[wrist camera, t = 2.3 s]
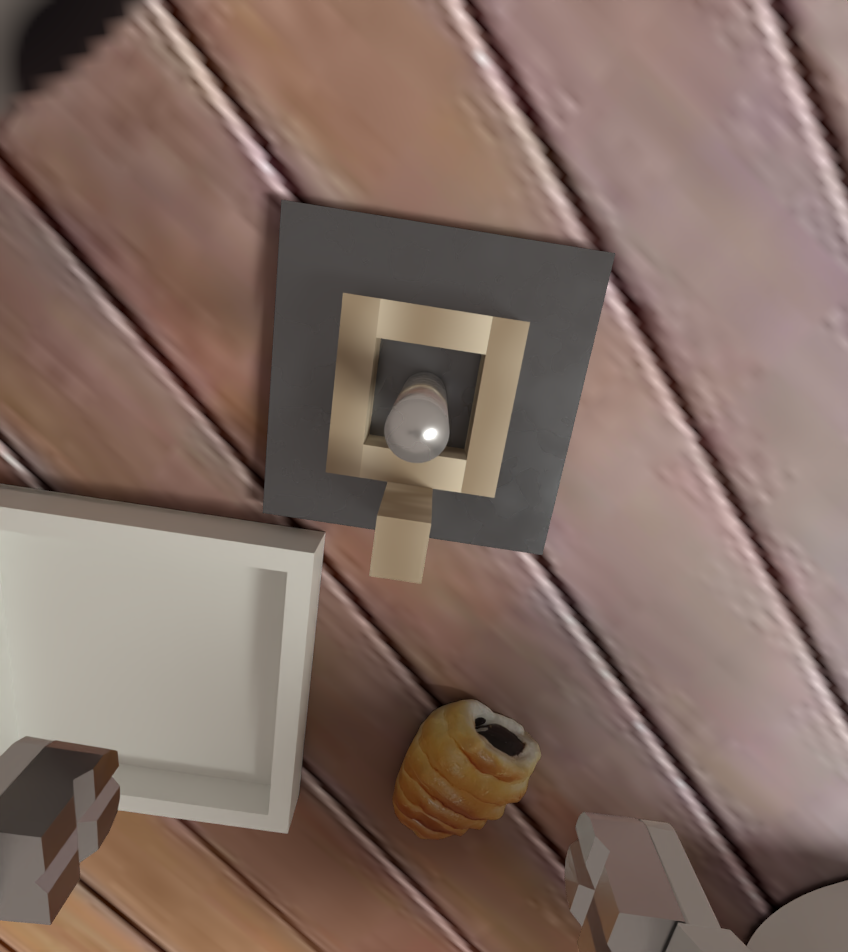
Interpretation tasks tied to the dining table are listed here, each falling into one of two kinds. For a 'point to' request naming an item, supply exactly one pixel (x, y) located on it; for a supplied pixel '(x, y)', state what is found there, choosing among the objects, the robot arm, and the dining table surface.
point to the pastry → (462, 770)
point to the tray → (162, 649)
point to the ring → (453, 468)
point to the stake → (427, 365)
